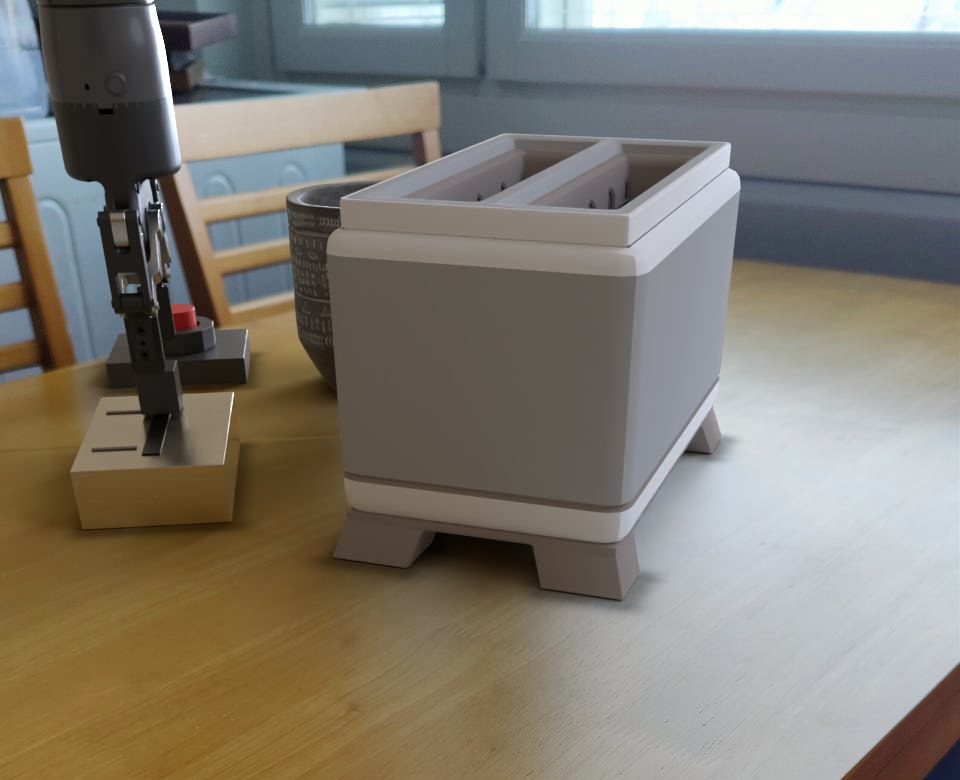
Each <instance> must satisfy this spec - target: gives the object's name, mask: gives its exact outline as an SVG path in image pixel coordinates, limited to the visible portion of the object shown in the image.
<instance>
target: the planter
mask: <svg viewBox="0 0 960 780" xmlns="http://www.w3.org/2000/svg"><path fill="white" fill-rule="evenodd" d="M385 180H386V179H371V180H369V179H367V180H354V181H353V180H352V181H342V182H331V183H322V184H313V185H309V186H305V187H301V188H298V189H296V190H293V191H291V192H289V193H288V194H287V195H286V196H285V205H286V215H287V223H288V227H287V228H288V242H289V243H288V244H289V255H290V256H289V257H290V266H291V274H292V275H291V276H292V282H293V283H292V284H293V288H294V289H293V295H294V299H293V300H294V312H295V323H296V331H297V338H298V340H299V342H300V344H301V346H302V348H303V349H304V351H305V353H306V354H307V356H308V357H309V359H310V360H311V362H312V364H313V365H314V367H315V368H316V369H317V371H318V372H319V375H320V376H322V378H323V379H324V381H325V382H326V384H327V385H328V386H329V388H330V389H332V390H334V391H336V392H337V382H336V370H335V357H334V344H333V331H332V318H331V305H330V292H329V279H328V266H327V253H326V250H327V243H328V238H329V237H330V235H331V234H332V232H334V231H335V230H336V229H339V228H341V215H340V199H341V198H342V197H344V196H347V195H349V194H352V193H354V192H357V191H359V190H362V189H364V188H367V187H369V186H372V185H374V184H377V183H379V182H382V181H385Z"/></svg>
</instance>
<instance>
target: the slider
mask: <svg viewBox="0 0 960 780" xmlns="http://www.w3.org/2000/svg"><path fill="white" fill-rule="evenodd" d="M165 362H166V367H165V371H164V372H163V373H162V374H157V375H137V374H136V373H135V372H134V375H135V381H136V387H137V388H136V393H137V396H138V398H139V404H140V410H141V414H142V415H155V414H178V413H180V411H181V407H182V403H183V396H182V394H183V390H182V389H183V388H182V386H181V382H180V376H179V369H178V363H177V360H165Z"/></svg>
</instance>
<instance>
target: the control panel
mask: <svg viewBox="0 0 960 780" xmlns="http://www.w3.org/2000/svg"><path fill="white" fill-rule="evenodd" d="M182 396H183V403H182V407H181V411H180V413H178V414H155V415H142V414H141V410H140V404H139V398H138V395H131V396H127V395H126V396H105V397H104V396H103V397H101V398H100V400H99V402H98V404H97V407H96V409H95V411H94V414H93V416H92V419H91V421H90V423H89V426H88V428H87V431H86V433H85V435H84V437H83V440H82V443H81V445H80V447H79V449H78V452H77V454H76V457H75V458H74V461H73V464H72V466H71V469H70V471H69V475H70V478H71V483H72V487H73V492H74V497H75V501H76V506H77V511H78V515H79V520H80V524H81V525H80V526H81V529H82V530H100V529H101V530H102V529H119V528H121V529H123V528H138V527H141V528H142V527H157V526H176V525H177V526H178V525H179V526H180V525H197V524H198V525H199V524H215V523H230V522H232V521H233V512H234V504H235V497H236V496H235V495H236V487H237V478H238V470H239V469H238V468H239V458H240V451H241V437H240V436H241V435H240V431H239V430H240V429H239V422H238V414H237V406H236V399H235V398H236V397H235V392H234V391H225V392H223V391H222V392H221V391H220V392H202V393H201V392H198V393H182Z"/></svg>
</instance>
